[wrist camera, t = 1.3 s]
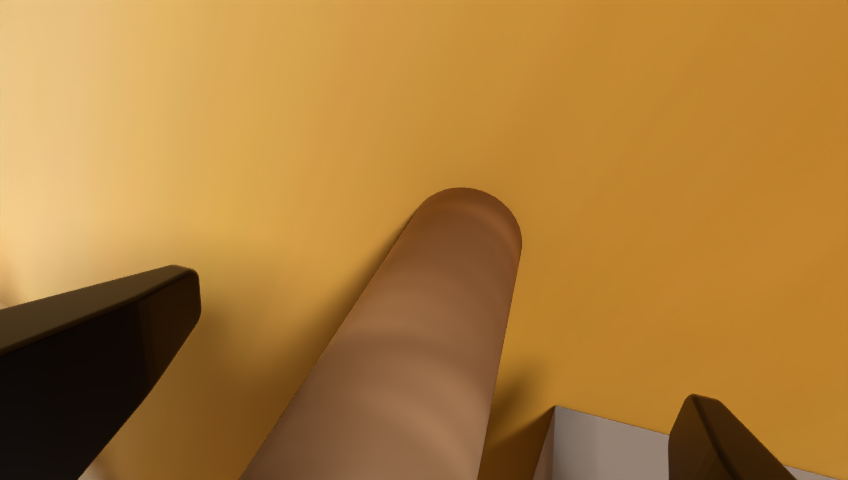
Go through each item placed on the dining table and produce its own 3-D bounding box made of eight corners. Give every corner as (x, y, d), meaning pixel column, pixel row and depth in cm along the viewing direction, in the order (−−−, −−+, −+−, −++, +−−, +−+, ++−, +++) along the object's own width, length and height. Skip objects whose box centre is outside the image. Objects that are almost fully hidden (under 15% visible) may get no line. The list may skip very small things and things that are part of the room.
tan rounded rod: (533, 200, 12) (353, 1170, 2) (509, 301, 13) (328, 1210, 4) (416, 176, 12) (-148, 911, 3) (404, 276, 14) (-19, 1032, 4)
